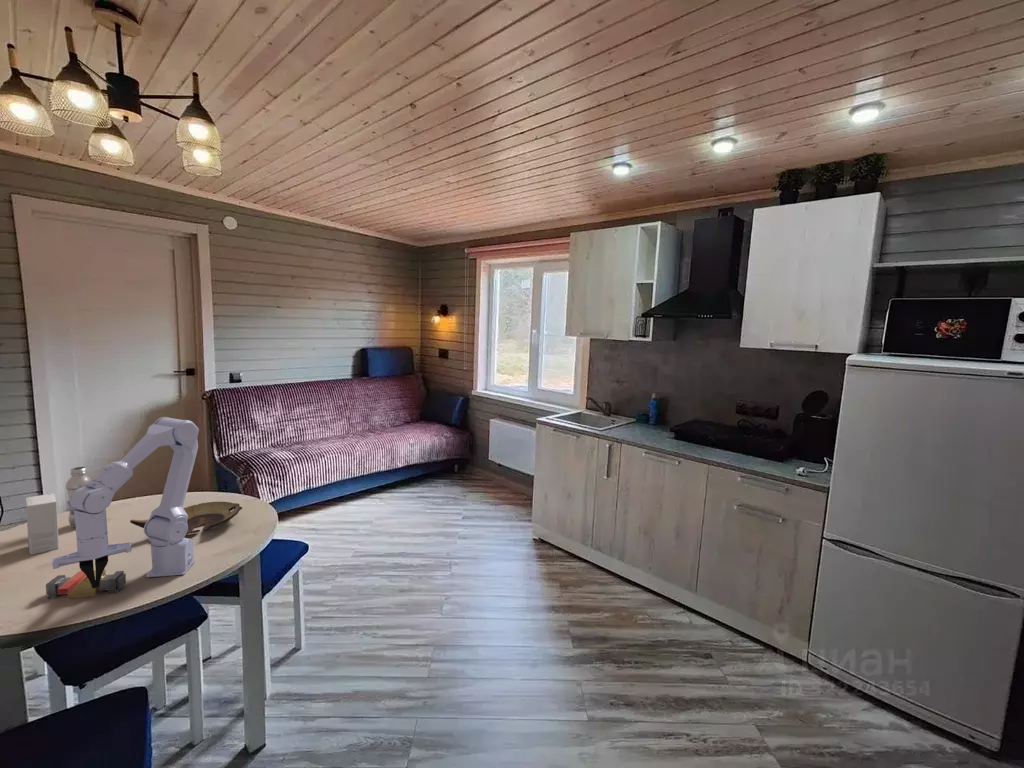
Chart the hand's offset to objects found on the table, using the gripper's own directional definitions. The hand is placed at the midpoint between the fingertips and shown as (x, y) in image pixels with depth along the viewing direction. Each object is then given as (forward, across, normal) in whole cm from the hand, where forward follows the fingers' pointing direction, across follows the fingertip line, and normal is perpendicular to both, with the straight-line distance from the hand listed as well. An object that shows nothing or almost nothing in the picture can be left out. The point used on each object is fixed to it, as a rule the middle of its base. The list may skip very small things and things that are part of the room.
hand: (95, 585), depth 117 cm
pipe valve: (+5, +2, -8) cm, 10 cm away
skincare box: (+5, +12, -45) cm, 47 cm away
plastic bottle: (+5, +3, -58) cm, 58 cm away
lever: (0, +4, -5) cm, 6 cm away
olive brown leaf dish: (+5, -25, -36) cm, 44 cm away
